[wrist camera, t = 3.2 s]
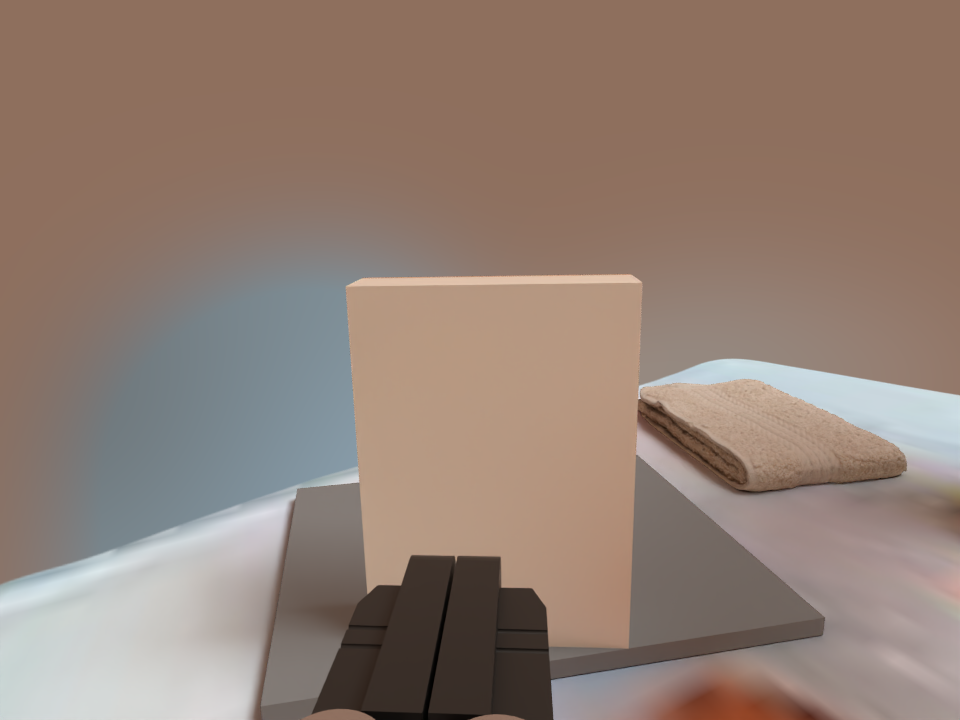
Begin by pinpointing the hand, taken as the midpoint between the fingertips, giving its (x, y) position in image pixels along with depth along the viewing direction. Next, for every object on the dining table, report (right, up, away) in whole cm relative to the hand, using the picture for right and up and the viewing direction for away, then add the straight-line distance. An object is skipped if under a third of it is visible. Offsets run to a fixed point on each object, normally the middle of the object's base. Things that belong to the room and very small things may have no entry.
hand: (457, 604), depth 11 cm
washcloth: (+20, -2, +38) cm, 43 cm away
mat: (+2, -6, +22) cm, 23 cm away
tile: (+1, -7, +16) cm, 17 cm away
